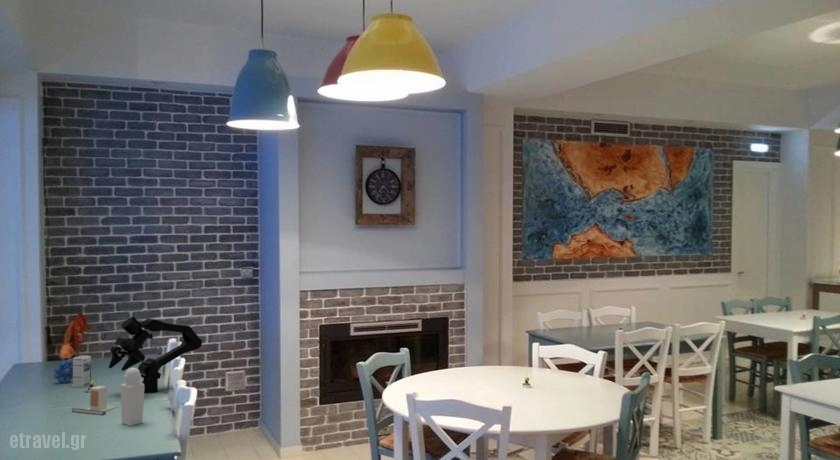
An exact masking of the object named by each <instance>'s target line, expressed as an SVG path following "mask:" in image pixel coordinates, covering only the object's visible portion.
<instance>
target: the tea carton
mask: <svg viewBox="0 0 840 460" xmlns="http://www.w3.org/2000/svg"><path fill="white" fill-rule="evenodd" d="M107 406H108V386H105V385H97V386H93V387H90V388H89V407H90V410H102V409H104V408H107Z"/></svg>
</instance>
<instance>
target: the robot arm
mask: <svg viewBox="0 0 840 460" xmlns="http://www.w3.org/2000/svg"><path fill="white" fill-rule="evenodd" d="M121 328H122V330H124V331H125V332H126V333H127V334H129V336H132V337H126V338H124V337H117V338H116V340H115V342H114V345H115V346H111V348H110V349H109V351H110V353H111V360H110V362H109V365H108V369H113V368H114V367H115V366H116V365H118V364H119V363H120V362H121V361H122V360H123V358H125V357H128V358H127V360H126V361H125V363H124V364H123V366H122V367H121V371H122V372H125V371H127V370H128V369H130V368H132V367H133V366H135V365H137V364H138V367H137V369H138V370H139V371H140V374H141V376H140V378H142V379H143V380H142V381H141V383H143V384H144V385H145V386H144V394H147V393H157V392H158V391H159V379H161V375H162V374H161V373H160V372H159V371H160V370H161V368H162V367H164V366H165V365H167V364H168V363H170V362H172V361H174V360H175V359H177V358H179V357H180V356H183V355H184V354H186V353H189V352H192V351H196V350H199V349H200V348H201V347H202V344H203V340H202V339H201V338H200V337H199V335H198V334H197V333H196V332H195V331H194V330H193V328H192V327H191V326H190V325H187V324H177V323H169V322H168V323H167V322H164V321H162V320H158V319H155V318H150V317H149V318H146V319H145V320H144V321H140V322H139V320H137V319H136V317H135V316H130V317H129V318H127V319H126V320H124V321H123V322H122V323H121ZM163 331H165V332H166V331H167V332H174V333H181V336H182V339H183V340H182V342H181V343H180V344H179V345H177V346H176V347H174V348H172V349H170V350H169V351H167V352H165V353H164V354H162V355H160V356H159V357H157V358H155V359H154V358H152V357H151V358H150V357H148V358H146V355H145V354H144V353H143V352H142V351H141V350H142V349H143V348H144V346H143V345H144V344H145V343H146V341H147V340H153V339H154V337H153V333H154V332H155V333H156V332H163ZM150 332H153V333H150ZM120 346H121V347H120Z"/></svg>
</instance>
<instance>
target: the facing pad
mask: <svg viewBox="0 0 840 460" xmlns="http://www.w3.org/2000/svg"><path fill="white" fill-rule="evenodd" d="M117 408H118V406H115V405H107V408H104V409H102V410H97V411H106V412H109V411H111V410H114V409H117ZM85 409H88V410H90V406H88V407H87V408H85Z"/></svg>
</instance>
